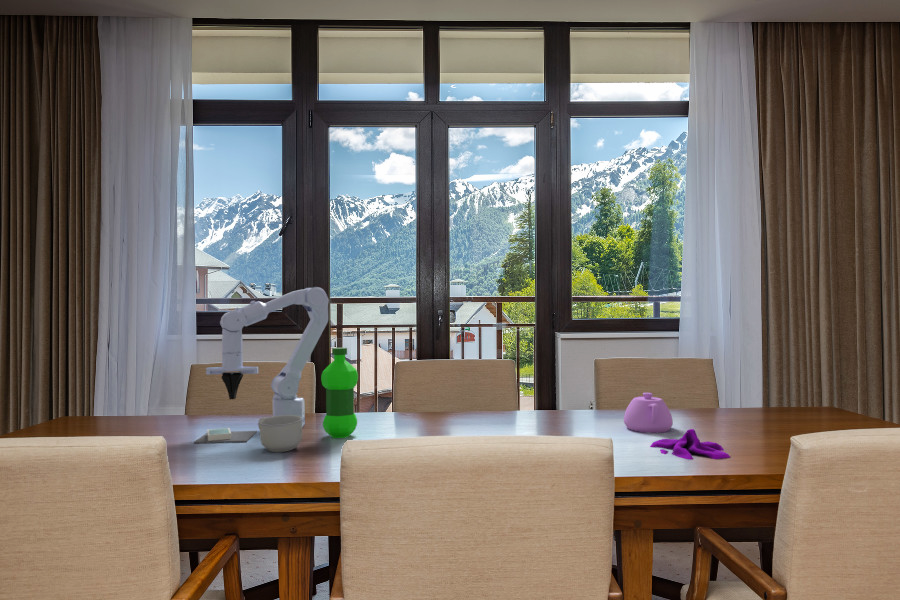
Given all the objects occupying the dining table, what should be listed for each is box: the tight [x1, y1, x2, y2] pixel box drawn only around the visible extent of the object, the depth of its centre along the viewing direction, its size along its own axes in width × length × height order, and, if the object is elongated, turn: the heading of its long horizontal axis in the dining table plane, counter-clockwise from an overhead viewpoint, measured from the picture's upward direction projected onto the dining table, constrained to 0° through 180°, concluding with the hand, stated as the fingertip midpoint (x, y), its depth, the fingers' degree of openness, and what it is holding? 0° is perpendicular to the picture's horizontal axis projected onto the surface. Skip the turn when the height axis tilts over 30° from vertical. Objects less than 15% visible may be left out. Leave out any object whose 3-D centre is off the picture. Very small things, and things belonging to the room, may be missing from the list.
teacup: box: [257, 415, 303, 453], centre depth 164 cm, size 14×11×8 cm
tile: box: [206, 427, 231, 441], centre depth 176 cm, size 8×2×6 cm
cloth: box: [649, 428, 731, 461], centre depth 157 cm, size 22×19×6 cm
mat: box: [193, 430, 258, 444], centre depth 177 cm, size 14×13×1 cm
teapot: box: [623, 392, 674, 434], centre depth 186 cm, size 14×20×11 cm
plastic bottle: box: [320, 347, 359, 439], centre depth 178 cm, size 10×10×25 cm
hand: (232, 398), depth 184 cm, fingers closed
